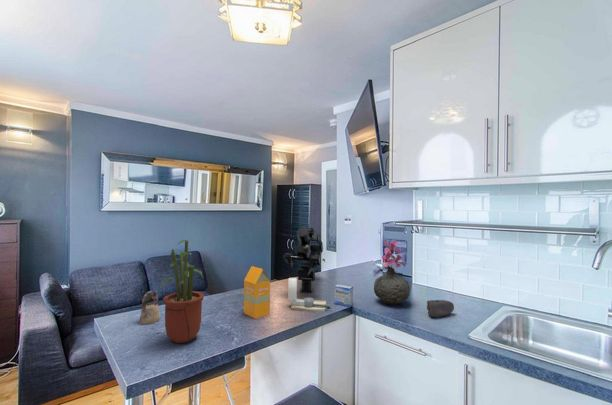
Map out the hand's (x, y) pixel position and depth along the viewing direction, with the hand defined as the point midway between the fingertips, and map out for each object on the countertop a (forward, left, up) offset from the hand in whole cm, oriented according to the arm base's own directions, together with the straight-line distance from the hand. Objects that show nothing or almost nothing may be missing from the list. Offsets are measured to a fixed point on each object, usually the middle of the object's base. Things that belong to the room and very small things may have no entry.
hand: (298, 274), depth 145 cm
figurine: (+34, -56, -13) cm, 67 cm away
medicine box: (+2, +22, -13) cm, 26 cm away
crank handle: (+10, +6, -12) cm, 17 cm away
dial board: (+8, +8, -13) cm, 17 cm away
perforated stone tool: (+10, +64, -13) cm, 67 cm away
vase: (-3, +45, -13) cm, 47 cm away
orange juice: (+20, -16, -13) cm, 29 cm away
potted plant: (+46, -37, -13) cm, 60 cm away
